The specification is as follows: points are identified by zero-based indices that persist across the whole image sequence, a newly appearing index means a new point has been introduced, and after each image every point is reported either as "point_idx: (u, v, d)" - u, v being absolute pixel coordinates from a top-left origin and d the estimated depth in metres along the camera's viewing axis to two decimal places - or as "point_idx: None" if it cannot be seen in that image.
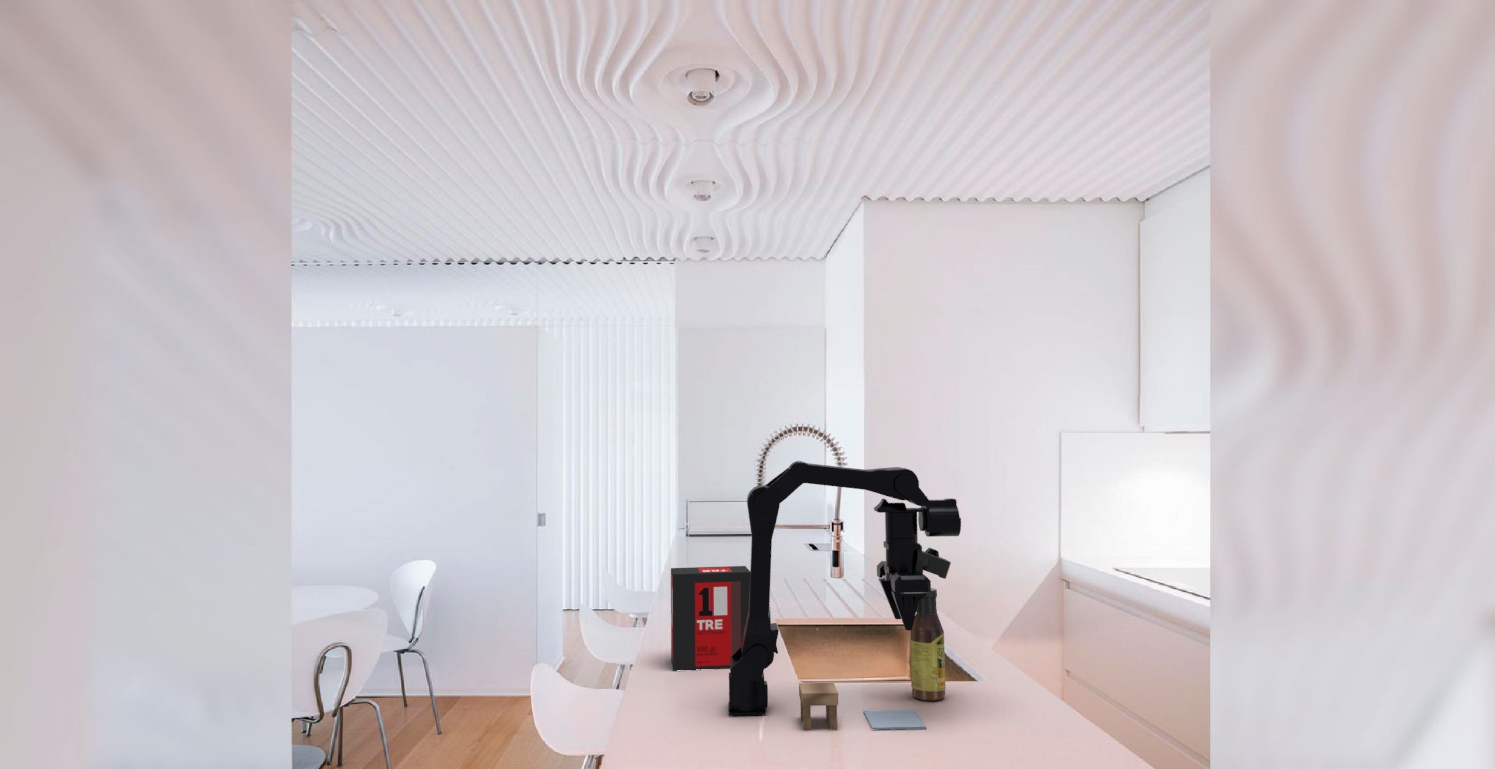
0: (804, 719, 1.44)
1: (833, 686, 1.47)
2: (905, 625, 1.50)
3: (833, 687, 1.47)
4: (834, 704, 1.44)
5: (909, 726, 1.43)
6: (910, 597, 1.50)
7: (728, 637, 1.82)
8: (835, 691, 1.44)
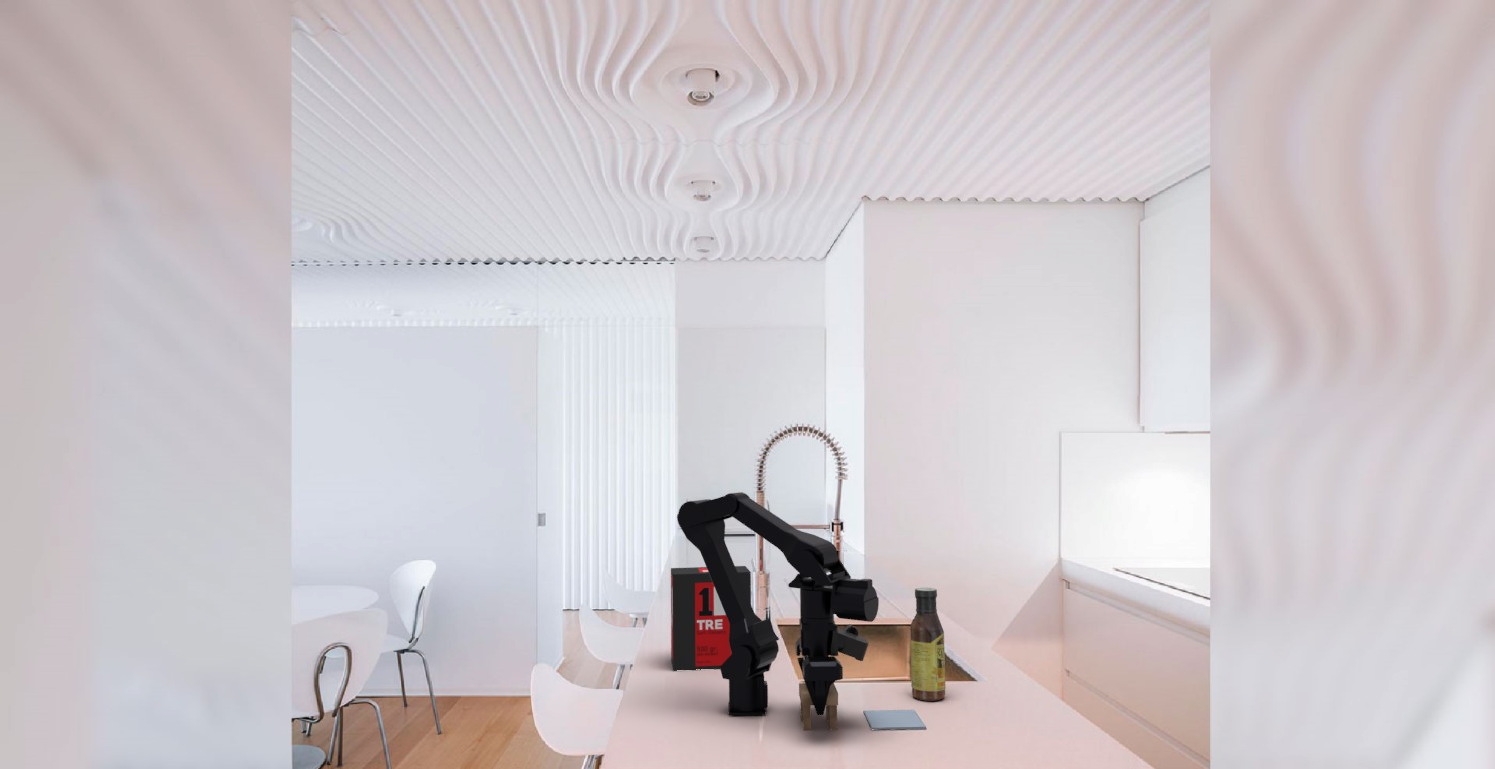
0: (804, 719, 1.44)
1: (833, 686, 1.47)
2: (816, 710, 1.43)
3: (833, 687, 1.47)
4: (834, 704, 1.44)
5: (909, 726, 1.43)
6: (821, 680, 1.42)
7: (728, 637, 1.82)
8: (835, 691, 1.44)
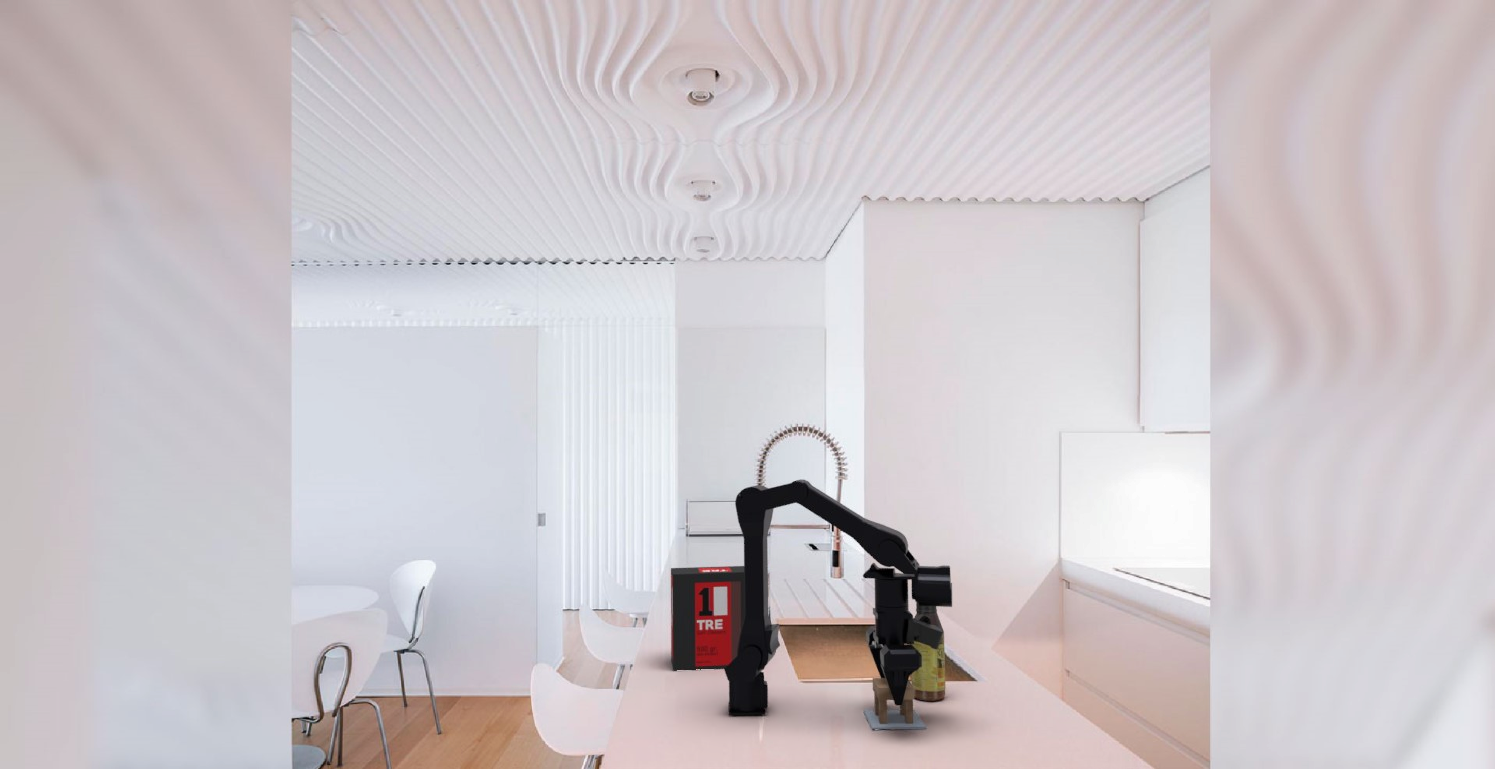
0: (880, 713, 1.45)
1: None
2: (895, 700, 1.43)
3: (908, 682, 1.48)
4: (910, 698, 1.45)
5: (909, 726, 1.43)
6: (900, 671, 1.42)
7: (728, 637, 1.82)
8: (911, 686, 1.46)
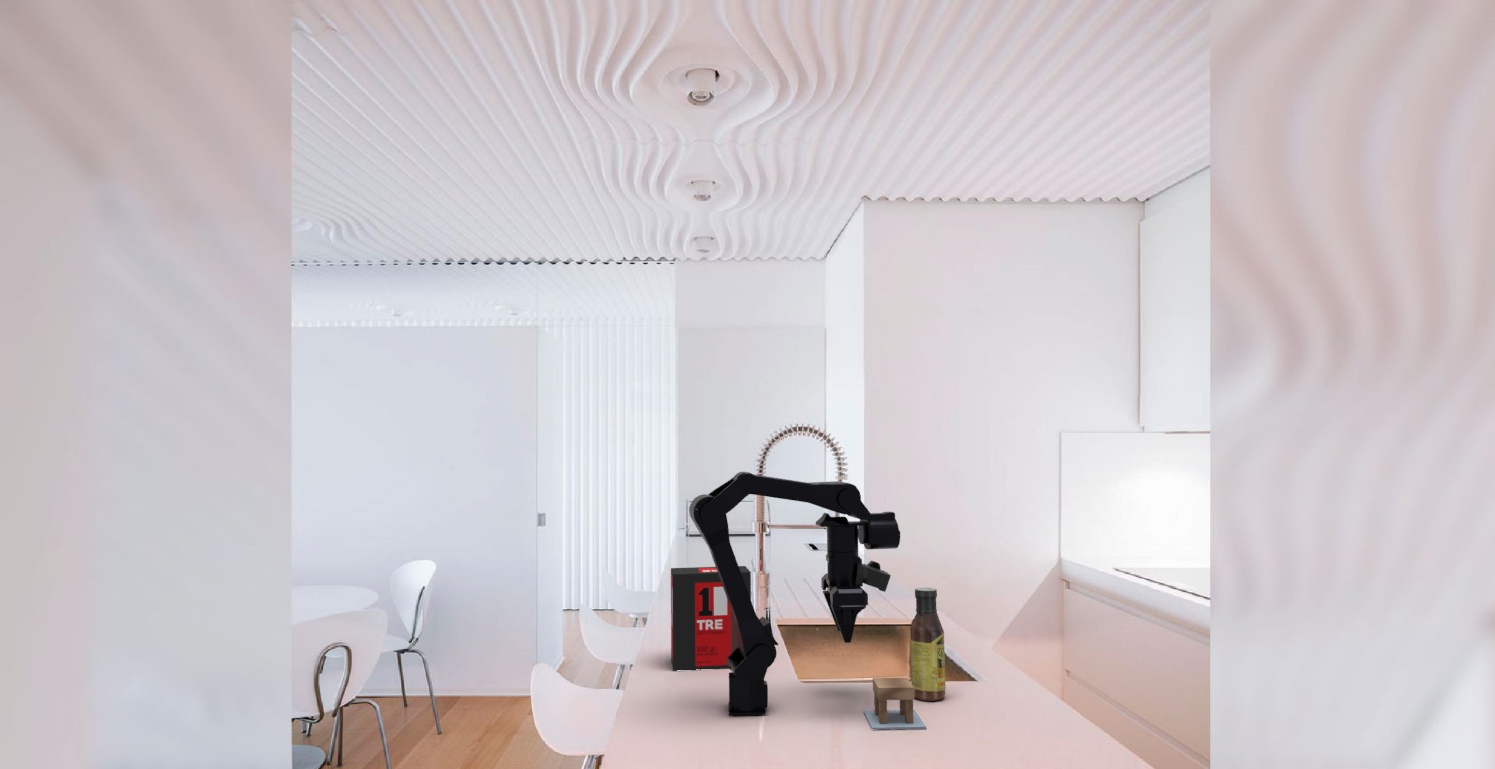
0: (880, 713, 1.45)
1: (907, 681, 1.49)
2: (844, 637, 1.53)
3: (908, 682, 1.48)
4: (910, 698, 1.45)
5: (909, 726, 1.43)
6: (849, 610, 1.53)
7: (728, 637, 1.82)
8: (911, 686, 1.46)
